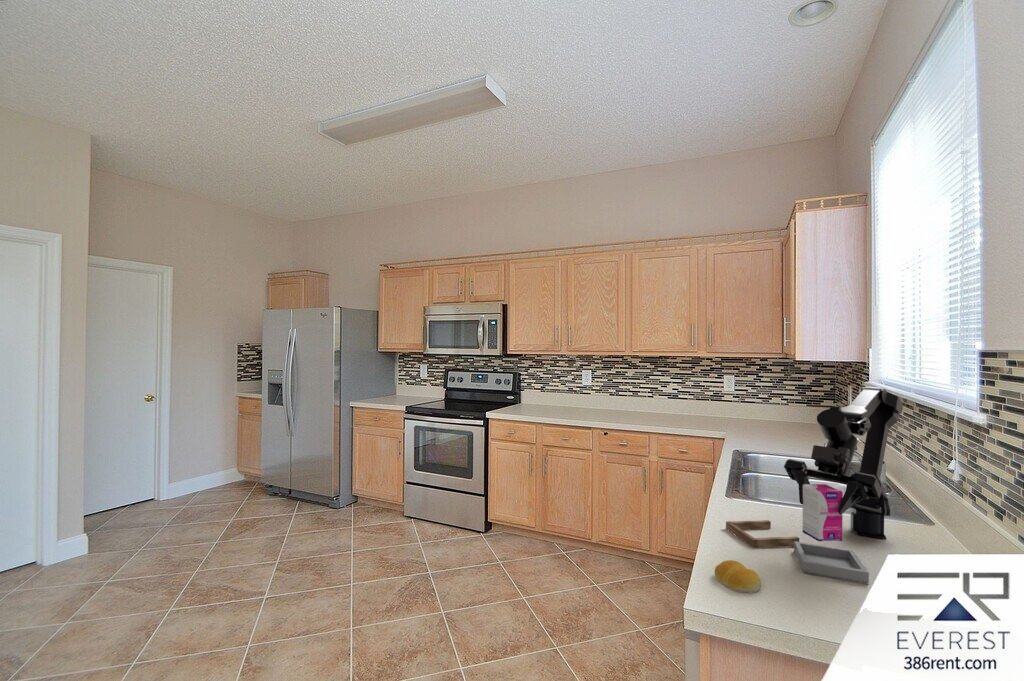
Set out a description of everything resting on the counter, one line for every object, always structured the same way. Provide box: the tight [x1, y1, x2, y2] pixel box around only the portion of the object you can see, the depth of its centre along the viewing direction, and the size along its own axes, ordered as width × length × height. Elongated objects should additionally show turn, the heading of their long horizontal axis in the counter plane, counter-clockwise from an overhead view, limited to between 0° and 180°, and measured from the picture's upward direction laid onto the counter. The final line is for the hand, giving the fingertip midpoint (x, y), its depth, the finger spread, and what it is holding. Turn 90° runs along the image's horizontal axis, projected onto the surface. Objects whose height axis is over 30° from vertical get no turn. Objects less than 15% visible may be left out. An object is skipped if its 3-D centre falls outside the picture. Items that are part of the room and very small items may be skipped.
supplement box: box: [802, 483, 844, 542], centre depth 110 cm, size 6×6×12 cm
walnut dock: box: [725, 519, 800, 549], centre depth 124 cm, size 12×12×2 cm
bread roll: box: [714, 559, 762, 594], centre depth 101 cm, size 8×9×4 cm
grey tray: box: [793, 541, 870, 584], centre depth 108 cm, size 12×12×2 cm
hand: (819, 508), depth 109 cm, fingers closed on supplement box, 8 cm apart
